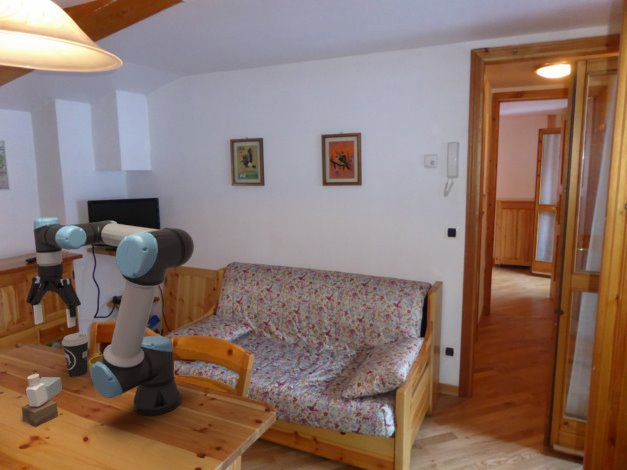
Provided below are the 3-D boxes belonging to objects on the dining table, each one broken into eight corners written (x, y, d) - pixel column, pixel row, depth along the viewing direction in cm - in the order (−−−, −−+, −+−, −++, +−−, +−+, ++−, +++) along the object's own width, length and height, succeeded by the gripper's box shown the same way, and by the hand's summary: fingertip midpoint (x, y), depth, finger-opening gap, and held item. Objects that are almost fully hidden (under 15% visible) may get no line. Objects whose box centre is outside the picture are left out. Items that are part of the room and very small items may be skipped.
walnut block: (57, 417, 146) (56, 402, 145) (35, 427, 140) (34, 412, 139) (45, 411, 150) (43, 397, 149) (23, 421, 143) (21, 407, 143)
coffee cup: (83, 378, 173) (80, 341, 171) (58, 378, 173) (55, 341, 171) (96, 368, 182) (93, 332, 180) (72, 368, 182) (69, 332, 180)
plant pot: (107, 375, 176) (105, 351, 174) (126, 380, 171) (125, 355, 170) (83, 387, 166) (81, 361, 165) (103, 392, 162) (102, 366, 161)
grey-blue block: (62, 390, 164) (61, 377, 163) (49, 400, 157) (48, 386, 156) (43, 390, 164) (42, 376, 164) (30, 399, 158) (29, 385, 157)
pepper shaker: (38, 400, 146) (33, 373, 145) (48, 400, 146) (43, 373, 144) (28, 407, 143) (22, 379, 141) (38, 407, 142) (33, 379, 140)
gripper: (89, 263, 152) (93, 324, 155) (29, 259, 159) (34, 318, 162) (72, 267, 145) (77, 331, 148) (10, 264, 151) (16, 325, 154)
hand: (55, 324), depth 155 cm, fingers open, 13 cm apart
